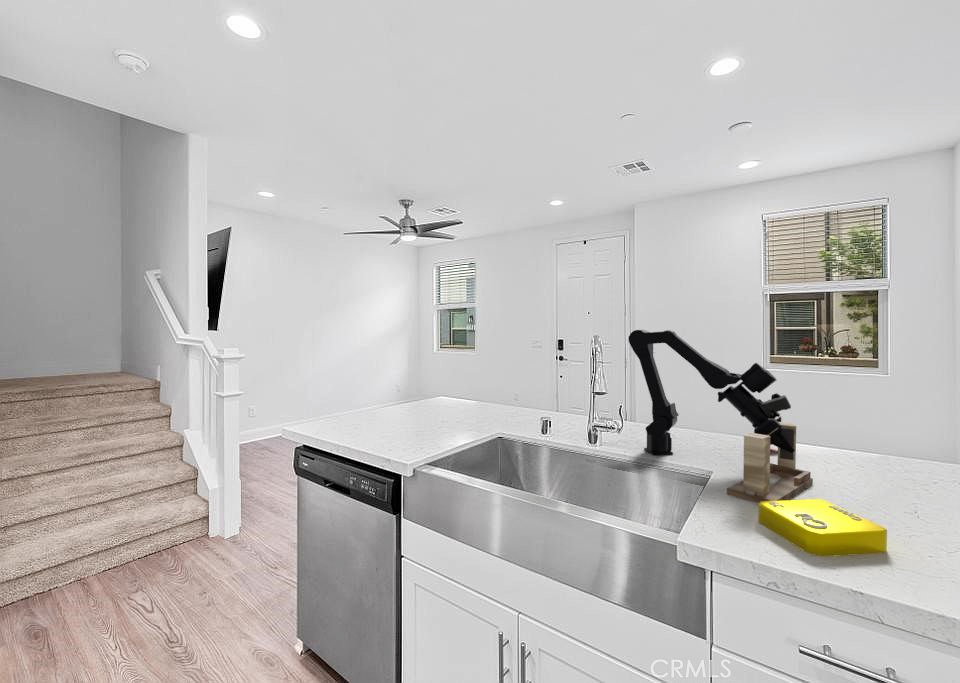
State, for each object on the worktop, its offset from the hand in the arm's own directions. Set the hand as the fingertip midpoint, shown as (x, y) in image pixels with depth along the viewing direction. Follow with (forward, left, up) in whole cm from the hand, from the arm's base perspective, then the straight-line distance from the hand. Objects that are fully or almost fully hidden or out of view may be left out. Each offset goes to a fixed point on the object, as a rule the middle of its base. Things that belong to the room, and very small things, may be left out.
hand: (793, 447), depth 121 cm
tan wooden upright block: (-1, +1, -7) cm, 7 cm away
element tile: (-24, -33, -7) cm, 42 cm away
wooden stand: (-15, -11, -7) cm, 20 cm away
